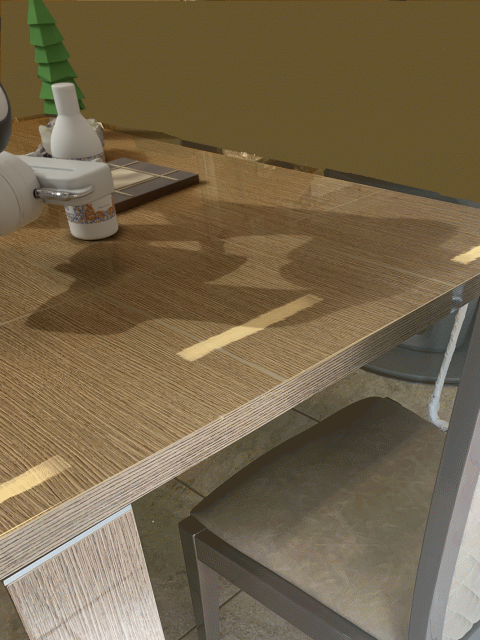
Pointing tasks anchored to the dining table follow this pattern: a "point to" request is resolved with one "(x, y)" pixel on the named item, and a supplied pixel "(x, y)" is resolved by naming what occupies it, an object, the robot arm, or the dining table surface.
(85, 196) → the robot arm
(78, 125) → the bath foam
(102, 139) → the geode
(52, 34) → the decorative tree
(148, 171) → the game board
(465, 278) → the dining table surface
